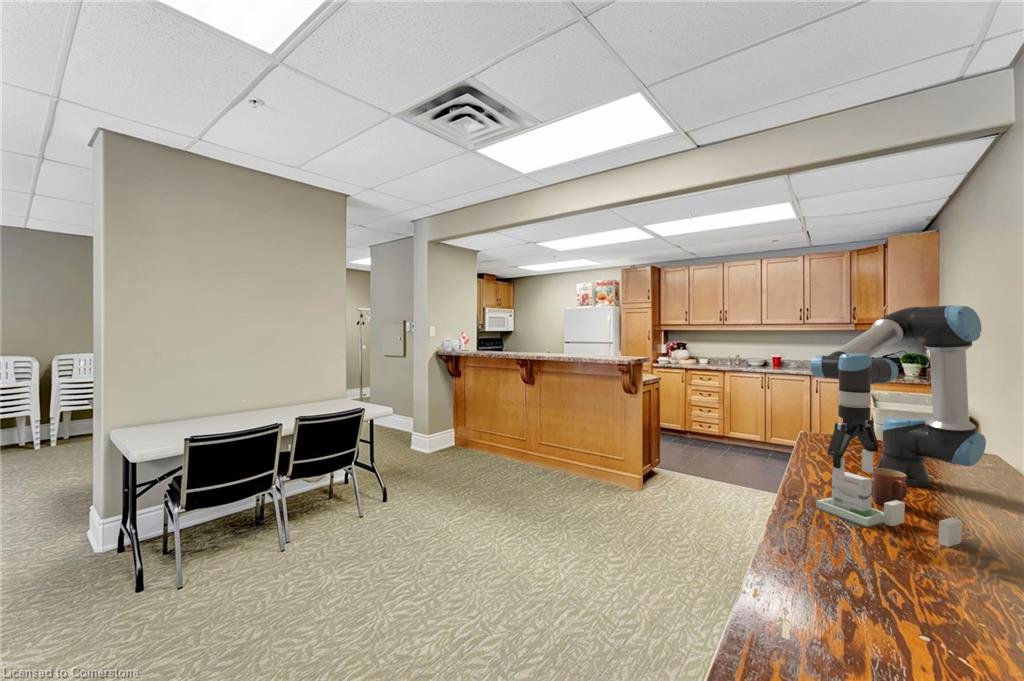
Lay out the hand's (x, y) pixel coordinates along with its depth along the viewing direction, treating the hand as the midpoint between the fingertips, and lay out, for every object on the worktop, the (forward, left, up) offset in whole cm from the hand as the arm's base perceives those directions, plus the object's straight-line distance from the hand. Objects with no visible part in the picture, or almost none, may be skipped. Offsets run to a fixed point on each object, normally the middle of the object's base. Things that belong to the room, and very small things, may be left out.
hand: (853, 475), depth 130 cm
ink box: (+1, 0, -12) cm, 12 cm away
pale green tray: (0, 0, -12) cm, 12 cm away
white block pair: (-6, +14, -12) cm, 19 cm away
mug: (-20, 0, -13) cm, 23 cm away
